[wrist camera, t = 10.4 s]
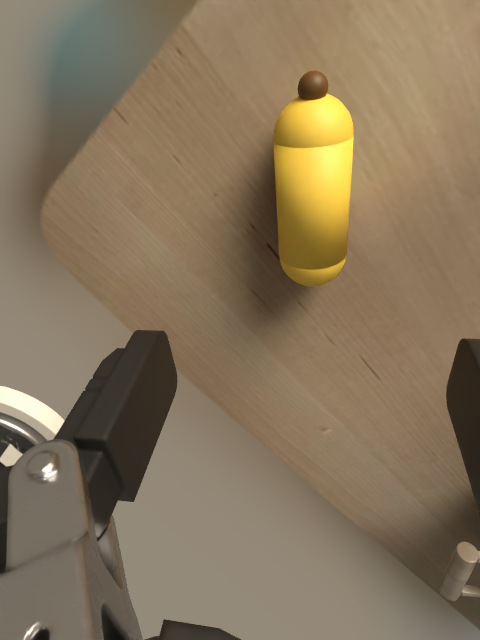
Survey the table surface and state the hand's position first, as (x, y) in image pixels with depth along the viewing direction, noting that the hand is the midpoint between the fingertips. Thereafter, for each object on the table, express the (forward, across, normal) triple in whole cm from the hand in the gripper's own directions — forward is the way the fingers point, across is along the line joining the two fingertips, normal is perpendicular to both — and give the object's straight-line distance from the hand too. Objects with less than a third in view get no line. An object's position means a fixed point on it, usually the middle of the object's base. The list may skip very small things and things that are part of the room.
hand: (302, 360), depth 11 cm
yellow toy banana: (+13, 0, 0) cm, 13 cm away
